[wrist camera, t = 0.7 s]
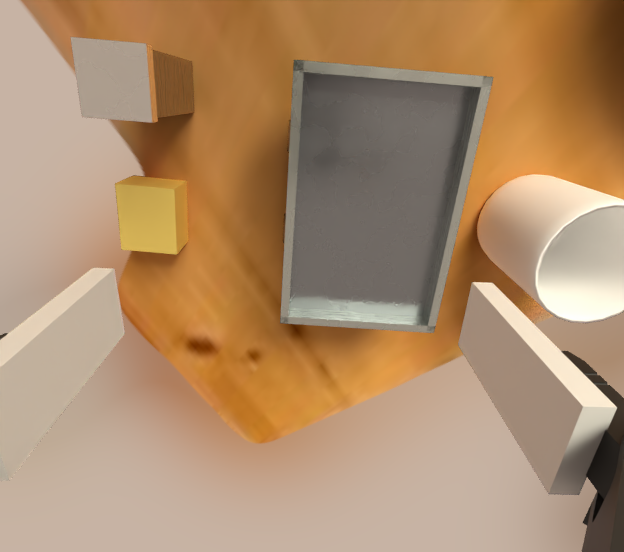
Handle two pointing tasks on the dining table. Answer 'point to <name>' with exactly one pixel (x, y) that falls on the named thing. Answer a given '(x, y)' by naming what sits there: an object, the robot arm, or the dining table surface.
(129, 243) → the block
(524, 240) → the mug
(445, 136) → the grey open rectangular container
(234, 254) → the dining table surface
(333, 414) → the dining table surface
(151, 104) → the grey tall block
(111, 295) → the robot arm
